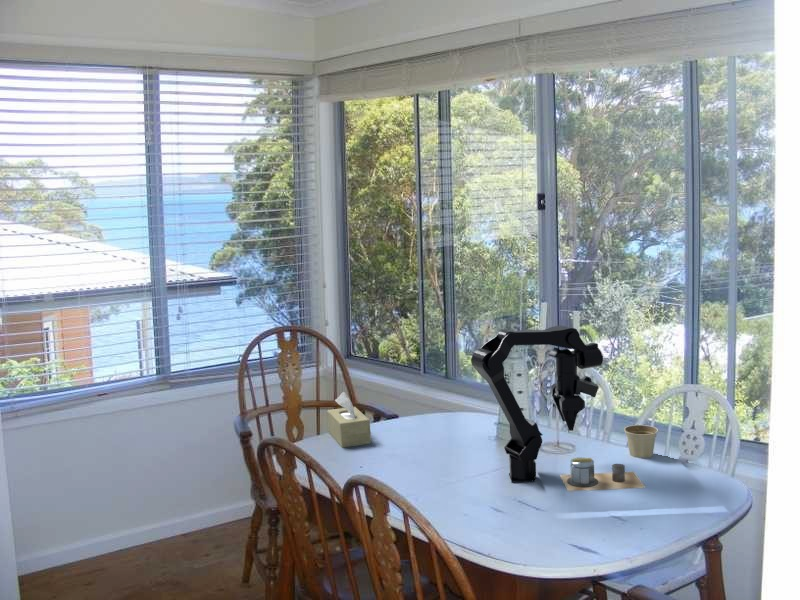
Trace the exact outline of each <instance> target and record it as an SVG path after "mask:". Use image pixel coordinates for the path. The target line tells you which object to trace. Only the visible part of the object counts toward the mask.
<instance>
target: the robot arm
mask: <svg viewBox="0 0 800 600" xmlns="http://www.w3.org/2000/svg"><path fill="white" fill-rule="evenodd" d="M542 345H543V346H544V345H545V346H546V345H547V346H548V345H549V346H554V347H553V349H552V350H551V351H550V352H549V353H548V356H549V357H552V358H555V373H554V378H555V381H556V383H552V385H551V386H550V394H551V397H552V399H553V401H554V404H555V406H556V409H557V411H558V412H559V416H560V417H561V420H562V422H565V424H566V427H567V429H568V431H569V432H571V431H574V428H575V426H576V420H577V416H578V414H579V413H580V412H581V411H583V410H584V409H586V401H585V400H584V398H583V397H582V396H581V394H585V395H588V396H590V397H592V398H596V396H597V393H598V390H599V385H598V384H597V383H595V382H593V381H592V378H591V376H588V375H584V376H583V377H582V378H580V375H578V368H579V369H580V370H585V369H591V368H597V367H598V368H599V367H601V366H602V364H603V362H604V355H602V351H601V349H600V348H599V344H598V343H597V342H589V343H587V344H586V343H585V342H584V341H583V340H582V338H581V335H580V333H579V331H578V329H576V328H575V327H570V326H566V325H561V324H560V325H555V326H551V327H548V328H546V329H532V330H531V329H530V330H529V329H523V330H520V329H519V330H507V329H502V330H500V331H498V333H496V334H495V335H494V337H492V338H491V339H489V340H488V341H486V342H484V343H483V345H481V347H480V348H478V349H475V350H474V352H473V354H472V355H471V357H470V362H471V365H472V366H473V368H474V370H475V371H476V372H477V373H478V374H479V375H480V376H481V378H483V380H485V381H486V382H487V384H488V386H489V387H490V389H491V391H492V394H494V397H495V399H496V400H497V403H498V405H499V407H500V408H501V410H502V412H503V414H504V417H505V418H506V420H507V421H508V423H509V435H510V436H511V437H510V439H509V440H508V442H507V443H506V444H505V446H504V448H503V449H504V451H505V454H506V455H508V456H509V473H508V476H509V479H510V481H511V483H525V482H527V483H528V482H536V477H537V463H536V461H535V460H537V458H538V455H539V452H540V448H541V447H542V444H543V437H542V436H543V435H544V434H543V433H542V432H541V431H540V429H539V426H538V424H537V422H534V421H532V420H530V419H528V418H526V417H525V415H524V413H523V411H522V409H521V408H520V406H519V403H518V402H517V399H516V397H515V395H514V394H513V392H512V390H511V387H510V386H509V384H508V382H507V380H506V378H505V367H504V364H503V363H504V361H506V359H508V357H509V354H510V352H511V349H512V348H513V347H515V346H542ZM560 348H562V349H560ZM570 349H571V350H570Z"/></svg>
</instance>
